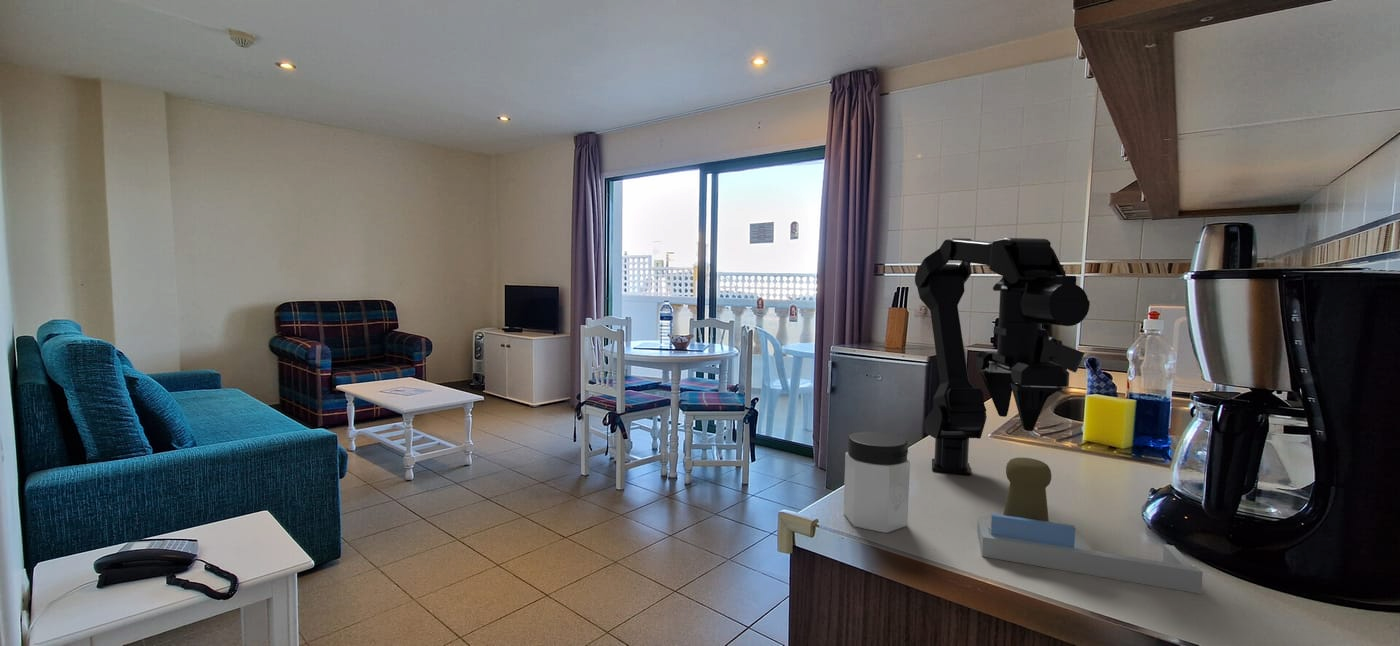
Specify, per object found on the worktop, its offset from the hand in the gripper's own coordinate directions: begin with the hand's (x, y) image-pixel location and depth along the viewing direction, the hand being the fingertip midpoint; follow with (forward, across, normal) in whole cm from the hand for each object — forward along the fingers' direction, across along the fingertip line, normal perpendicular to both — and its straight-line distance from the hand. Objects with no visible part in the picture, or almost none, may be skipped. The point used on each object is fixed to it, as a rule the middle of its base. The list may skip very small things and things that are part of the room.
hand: (1014, 423), depth 88 cm
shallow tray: (+13, -16, -1) cm, 21 cm away
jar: (+13, -9, +22) cm, 27 cm away
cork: (+13, -13, +4) cm, 19 cm away
